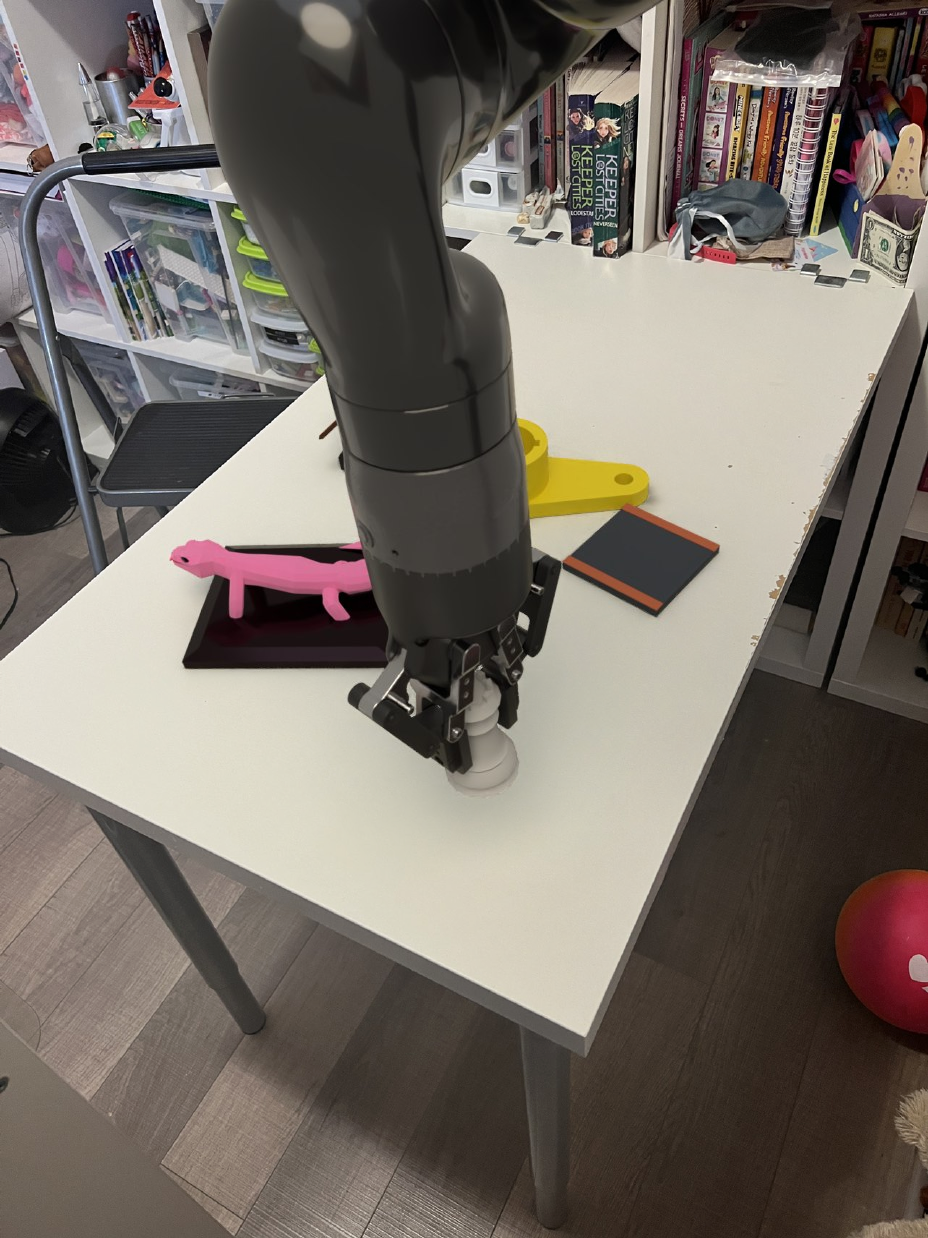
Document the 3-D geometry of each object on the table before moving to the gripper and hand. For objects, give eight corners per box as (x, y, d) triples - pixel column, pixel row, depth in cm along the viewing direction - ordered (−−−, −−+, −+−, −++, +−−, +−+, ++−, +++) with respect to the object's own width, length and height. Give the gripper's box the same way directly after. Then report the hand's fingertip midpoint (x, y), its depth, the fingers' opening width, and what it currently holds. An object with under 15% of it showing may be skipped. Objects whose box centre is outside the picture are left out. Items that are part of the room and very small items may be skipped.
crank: (460, 520, 86) (453, 470, 81) (469, 466, 91) (464, 417, 87) (649, 521, 83) (653, 470, 79) (647, 465, 89) (650, 415, 84)
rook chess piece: (430, 775, 53) (410, 693, 47) (479, 727, 55) (466, 642, 49) (485, 817, 51) (471, 735, 45) (535, 765, 53) (528, 681, 47)
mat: (719, 552, 79) (720, 544, 79) (655, 617, 75) (656, 610, 74) (626, 509, 85) (627, 502, 84) (562, 568, 80) (562, 561, 79)
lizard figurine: (213, 552, 86) (189, 493, 80) (416, 548, 84) (405, 487, 78) (168, 668, 76) (138, 610, 71) (397, 668, 74) (383, 607, 68)
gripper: (386, 645, 33) (442, 866, 45) (609, 454, 39) (604, 694, 52) (261, 564, 37) (344, 789, 49) (483, 402, 43) (507, 637, 56)
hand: (478, 739), depth 50 cm, fingers closed on rook chess piece, 3 cm apart
